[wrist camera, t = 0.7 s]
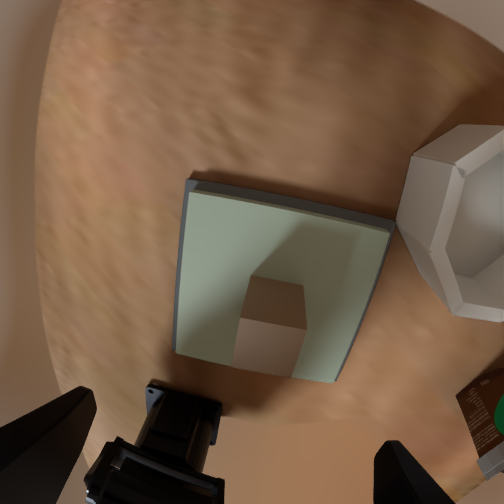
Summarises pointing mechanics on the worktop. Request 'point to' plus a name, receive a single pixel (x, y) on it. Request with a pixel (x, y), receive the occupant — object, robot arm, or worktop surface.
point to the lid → (273, 285)
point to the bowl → (458, 219)
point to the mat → (282, 201)
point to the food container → (486, 419)
